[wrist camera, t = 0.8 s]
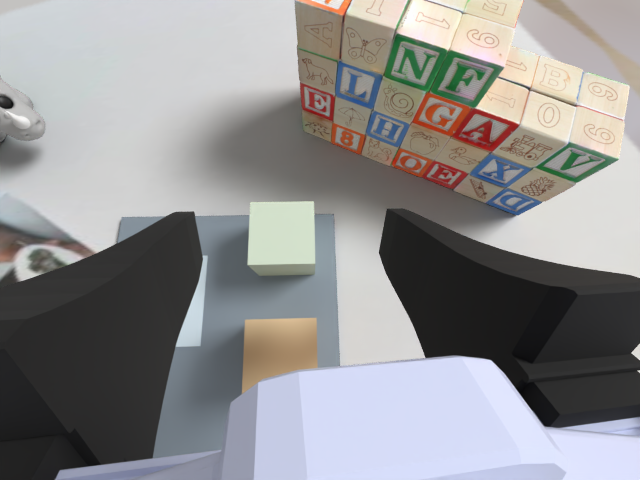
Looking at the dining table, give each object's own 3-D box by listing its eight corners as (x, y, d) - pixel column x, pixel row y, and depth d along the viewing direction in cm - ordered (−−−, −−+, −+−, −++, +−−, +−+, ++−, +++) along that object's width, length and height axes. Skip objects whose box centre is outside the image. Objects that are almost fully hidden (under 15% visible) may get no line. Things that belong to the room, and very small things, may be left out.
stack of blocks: (531, 161, 28) (691, 42, 16) (516, 217, 26) (683, 131, 15) (326, 84, 30) (335, -73, 18) (300, 132, 28) (291, -7, 16)
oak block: (317, 382, 22) (318, 396, 17) (255, 384, 22) (241, 399, 17) (315, 319, 23) (316, 317, 19) (257, 320, 23) (245, 319, 18)
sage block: (314, 274, 24) (315, 263, 20) (259, 275, 24) (247, 264, 19) (313, 222, 25) (313, 201, 21) (260, 223, 25) (250, 202, 21)
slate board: (343, 453, 21) (343, 456, 20) (83, 464, 20) (77, 467, 20) (333, 215, 26) (333, 213, 25) (124, 218, 25) (120, 216, 25)
